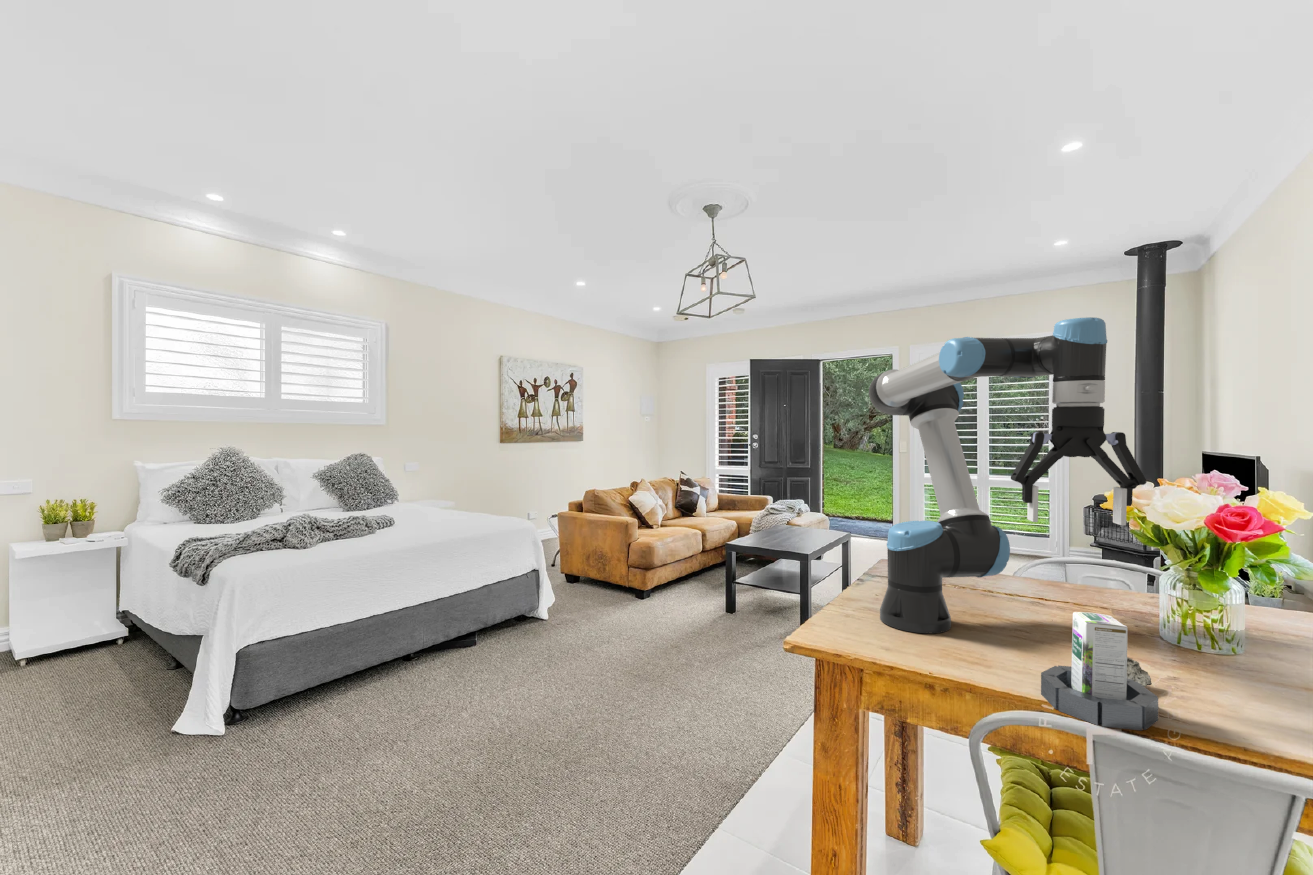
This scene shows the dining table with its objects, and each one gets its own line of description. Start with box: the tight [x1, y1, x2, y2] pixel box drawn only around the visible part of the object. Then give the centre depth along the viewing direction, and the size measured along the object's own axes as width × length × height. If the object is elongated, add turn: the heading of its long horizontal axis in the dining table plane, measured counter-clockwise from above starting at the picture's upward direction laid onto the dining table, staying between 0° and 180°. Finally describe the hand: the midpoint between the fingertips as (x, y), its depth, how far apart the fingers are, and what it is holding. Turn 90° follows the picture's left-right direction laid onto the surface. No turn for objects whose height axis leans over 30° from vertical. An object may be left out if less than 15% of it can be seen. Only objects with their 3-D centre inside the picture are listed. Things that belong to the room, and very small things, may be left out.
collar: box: [1040, 665, 1159, 731], centre depth 90 cm, size 14×14×4 cm
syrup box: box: [1071, 611, 1129, 700], centre depth 90 cm, size 6×6×14 cm
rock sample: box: [1127, 656, 1153, 688], centre depth 97 cm, size 10×8×9 cm
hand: (1075, 522), depth 100 cm, fingers open, 13 cm apart
